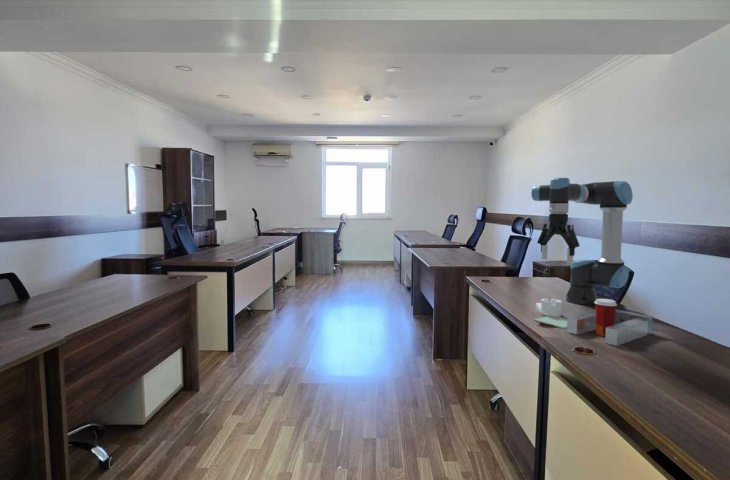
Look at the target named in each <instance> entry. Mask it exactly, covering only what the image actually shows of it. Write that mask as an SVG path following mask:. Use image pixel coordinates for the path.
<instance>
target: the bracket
mask: <svg viewBox="0 0 730 480" xmlns="http://www.w3.org/2000/svg"><path fill="white" fill-rule="evenodd" d="M535 308H536V310H537V311H538V312H539V313H540V314H541V315H542V316H545V317H546V316H558V317H562V300H560V299H556V298H551V300H550V301H549V299H548V298H541V299H540V302H536V303H535Z"/></svg>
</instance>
